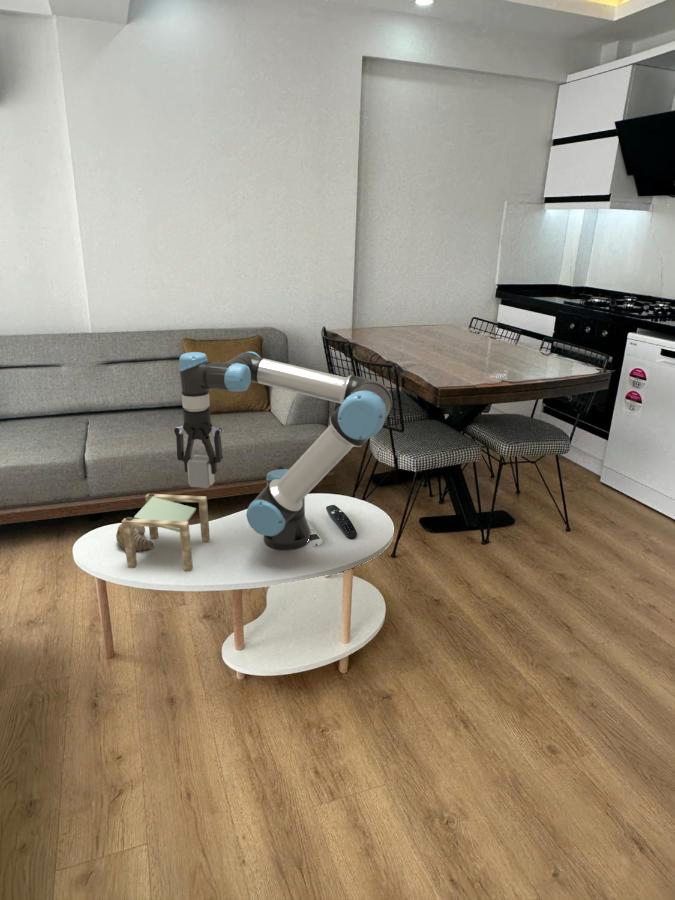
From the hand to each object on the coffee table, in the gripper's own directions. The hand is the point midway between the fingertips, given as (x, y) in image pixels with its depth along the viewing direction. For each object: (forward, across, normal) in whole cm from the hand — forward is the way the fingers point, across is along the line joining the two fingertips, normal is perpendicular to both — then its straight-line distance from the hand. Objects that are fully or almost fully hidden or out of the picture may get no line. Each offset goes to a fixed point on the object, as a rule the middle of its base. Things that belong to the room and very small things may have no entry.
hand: (201, 482), depth 179 cm
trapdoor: (+13, +11, +3) cm, 17 cm away
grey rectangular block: (-4, 0, 0) cm, 4 cm away
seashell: (+24, +24, -2) cm, 33 cm away
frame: (+23, +10, +3) cm, 26 cm away
